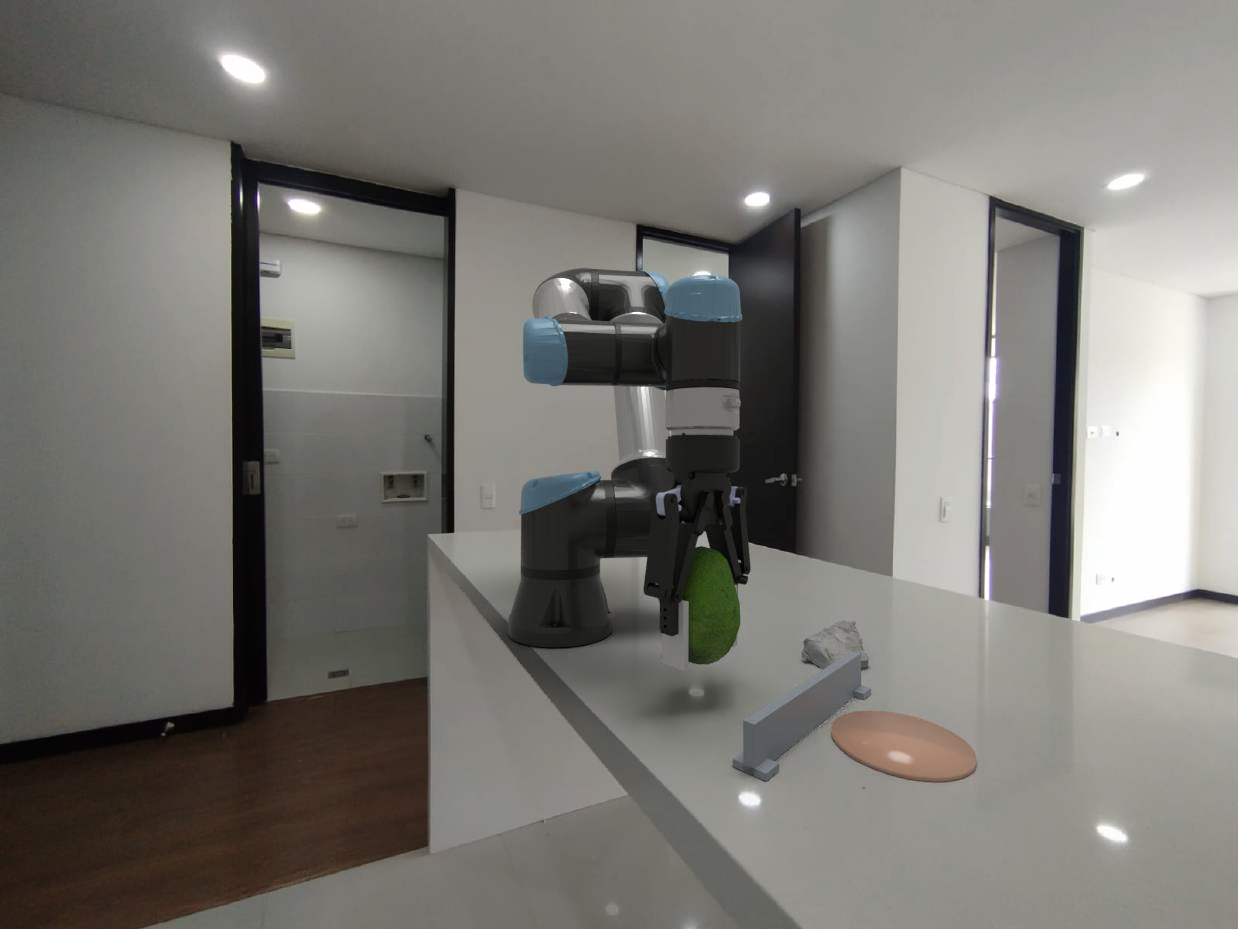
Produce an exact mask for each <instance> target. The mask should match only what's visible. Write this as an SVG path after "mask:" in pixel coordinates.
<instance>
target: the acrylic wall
mask: <svg viewBox="0 0 1238 929" xmlns="http://www.w3.org/2000/svg"><path fill="white" fill-rule="evenodd" d="M871 694H872V688H871V687H869V686H865V685H862V668H861V653H857V652H852V651H851V652H850V653H848V654H847V655H845V656H843V657H842V658H840V659H839V660H837V661H836V662H834V663H832V664H831V665H829V666H828V667H826V668H825V669H821V670H820V671H819V672H817V673H816V674H814V675H812V676H810V677H809V678H807V679H806V680H804V681H802V682H801V683H800V684H798V685H796V686H795V687H793V688H792V689H790V690H788V691H787V692H785V693H784V694H782V695H781V696H779V697H777V698H776V699H774V700H773V701H771V702H770V703H768V704H767V705H765V706H763V707H762V708H760V709H759V710H756V712H754V713H753V714H751V715H749V716H748V717H746V718H745V719H743V720H742V732H743V733H742V735H743V736H742V738H743V739H742V743H743V744H742V748H743V750H742V751H741V752H740V753H738V754H737V755H736V756H734V757H733V758H732V763H731V764H732V767H733V768H735V769H738V770H740V771H742V772H745V773H746V774H748V775H751V776H753V777H755V778H758V779H760V780H762V781H764V782H768V781H769V780H770V779H771V778H773V777H774V776H775V775H776V774H777V773H779V772H780V762H777V761H776V760H777V759H778V758H779V757H781V756H782V755H783V754H784V753H786V752H787V751H788V750H790V749H791V748H792V747H794V746H795V745H796V744H797V743H798V742H799V741H801V740H802V739H803V738H805V737H806V736H807V735H808V734H809V733H811V732H812V731H814V730H815V729H816V728H817V727H818V726H820V724H823V722H825V721H826V720H827V719H828V718H829V717H831V716H832V715H833V714H835V713H836V712H837V711H838V710H840V709H841V708H842V707H843V706H845V705H846V704H847V703H848V702H850V701H851V700H852V699H853V698H857V699H861V700H866V699H867V697H869V696H871Z"/></svg>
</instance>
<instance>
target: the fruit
mask: <svg viewBox="0 0 1238 929" xmlns="http://www.w3.org/2000/svg"><path fill="white" fill-rule="evenodd" d="M672 589H673V585H672ZM682 600H685V601H689V629H688V663H691V664H695V665H700V666H701V665H711V664H713V663H717V662H719V661H720V660H721V659H722V658H724V657H725V656H726V655H727V654H728V653H729V652H730V650H731V649H732V648H733V647H732V645H733V644H734V642H735V640H736V637H737V638H738V635H739V633H738V632H739V630H740V626H741V607H740V606H741V602H740V600H739V594H738V595H737V592H736V588H735V584H734V580H733V577H732V573H731V570H730V567H729V564H728V561H727V560H726V559H725V557H724V556H723V555H722V554H721V553H720V552H718V551H716V550H713V549H711V548H710V547H707V546H703V545H700V546H696V548H695V552H694V555H693V559H692V563H691V567H690V571H689V575H688V579H687V583H686V587H685V591H684V595H683V599H682Z"/></svg>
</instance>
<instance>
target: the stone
mask: <svg viewBox="0 0 1238 929" xmlns="http://www.w3.org/2000/svg"><path fill="white" fill-rule="evenodd" d="M863 643H864V642H863V635H862V634H860V631H859V630H858V628H857V626H856V620H850V621H847V620H844V619H843V620H840V621H837V622H836V623H834V624H832V625H831V626H829V627H824V628H823V630H821V631H819V632H816V633H814V634H813V635H811V636H808V637H806V638H805V639H804V640H803V649H802V650H801V657H802V658H803V659H805V660H807V661H810V662H812V664H814V665H816V666H817V667H819V668H820V669H821V670H823V669H825V668H826V667H828V666H829V665H831V664H832V663H834V662H836V661H837V660H839V659H840V658H842V657H843V656H845V655H847V654H848V653H850V652H851V651H852V652H857V653H861V669H863V668H868V667H869V660H870V658H869V655H868V653H866V652H865V651H864V650H863V649H864V644H863Z"/></svg>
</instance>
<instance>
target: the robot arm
mask: <svg viewBox="0 0 1238 929" xmlns="http://www.w3.org/2000/svg"><path fill="white" fill-rule="evenodd" d="M740 290H741V289H740V288H739V285H738V284H737V283H736V282H735V281H734V280H733V279H731V278H729V277H725V276H721V275H713V274H699V275H691V276H686V277H682V278H679V279H677V280H675V281H674V282H672V283H671V284H670V285H669V282H668V279H667V278H666V277H665V276H664V275H663V274H661V273H660V272H659V273H658V272H653V271H652V272H651V271H648V270H644V269H639V270H637V271H635V270H622V269H621V270H620V269H618V270H617V269H602V268H588V267H580V268H573V269H566V270H563V271H559V272H558V273H555V274H553V275H551V276H549V277H548V278H546V279H544V280H543V281H542V282H541V283H540V284H539V285H538V287H537V288H536V290H535V292H534V294H533V297H532V302H531V303H532V304H531V305H532V306H531V308H532V315H533V317H534V318H528V319H527V320H526V321H525V322H524V323H523V329H522V361H523V362H522V365H523V376H524V379H525V380H526V381H527V382H529V383H530V384H537V385H550V386H551V387H558V386H559V387H560V386H584V387H585V386H590V387H591V386H594V387H595V386H598V387H599V386H600V387H602V386H603V387H606V386H607V387H613V396H614V410H615V421H616V433H617V446H618V459H619V460H618V462H619V463H617V464H616V465H615V466H614V467H613V468H612V470H611V472H610V479H602V475H601V473H600V471H598V470H588V471H581V472H571V473H564V474H563V473H562V474H557V475H548V476H543V477H537V478H532V479H529V480H528V481H526V482H525V483H524V484H523V486H522V488H521V492H520V509H519V511H518V513H519V514H518V515H520V581H519V584H518V588H517V591H516V594H515V596H514V600H513V603H512V609H511V612H510V614H509V616H508V622H507V623H508V627H507V628H508V630H507V631H508V633H507V634H508V636H509V638H510V639H511V640H513V641H515V642H517V643H519V644H523V645H527V646H533V647H541V648H565V647H577V646H582V645H587V644H588V645H589V644H592V643H595V642H598V641H601V640H604V639H605V638H608V636H610V635H611V634H612V632H613V614H612V611H611V609H610V608H609V603H608V599H607V595H606V592H605V589H604V586H603V583H602V578H601V559H622V558H623V559H624V558H627V559H630V558H631V559H632V558H646V565H645V573H644V582H643V593H644V595H645V596H648V597H651V598H656V599H657V600H658V601H659V631H660V634H661V664H664V665H667V666H670V667H672V668H676V669H678V670H681V671H683V672H684V671H685V670H688V669H689V662H688V629H689V601H685V600H682V599H683V595H684V591H685V587H686V583H687V579H688V575H689V571H690V567H691V563H692V559H693V555H694V552H695V548H696V547H697V543H698V539H699V537H700V536H702V535H703V534H704V533H705V534H706V538H707V541H708V546H709V548H711V549H713V550H716V551H718V552H720V553H721V554H722V555H723V556H724V557H725V559H726V560H727V561H728V564H729V567H730V570H731V573H732V577H733V580H734V584H735V588H736V592H737V595H738V596H739V585H744V586H746V585H747V584H748V581H749V575H750V573H751V558H750V547H749V533H748V523H747V511H746V505H747V496H748V490H747V488H746V487H745V486H732V483H731V481H730V473H736V472H738V471H739V469H740V464H741V463H740V461H741V460H740V458H741V457H740V453H741V452H740V449H741V448H740V447H741V445H740V444H741V443H740V442H741V439H739V437H738V436H737V435H734V431H737V430H739V429H740V407H741V403H742V401H741V399H740V390H741V347H742V346H741V343H742V342H741V341H742V339H741V338H742V320H743V314H742V308H741V293H740ZM672 585H673V589H672ZM610 633H611V634H610ZM609 634H610V635H609ZM737 645H738V636H737V637H736V640H735V642H734V644H733V645H732V647H731V648H734V647H736V646H737Z"/></svg>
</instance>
